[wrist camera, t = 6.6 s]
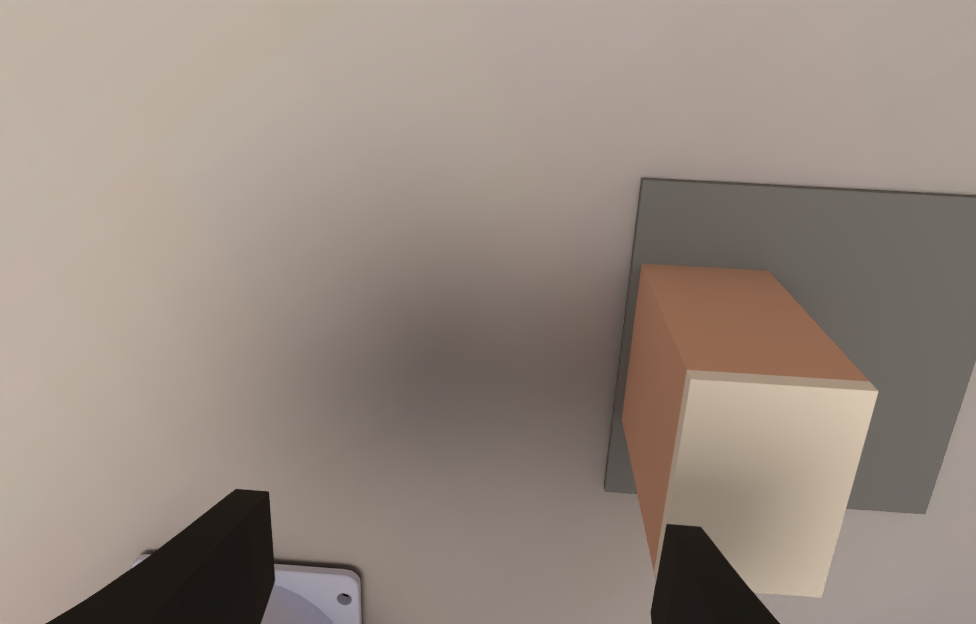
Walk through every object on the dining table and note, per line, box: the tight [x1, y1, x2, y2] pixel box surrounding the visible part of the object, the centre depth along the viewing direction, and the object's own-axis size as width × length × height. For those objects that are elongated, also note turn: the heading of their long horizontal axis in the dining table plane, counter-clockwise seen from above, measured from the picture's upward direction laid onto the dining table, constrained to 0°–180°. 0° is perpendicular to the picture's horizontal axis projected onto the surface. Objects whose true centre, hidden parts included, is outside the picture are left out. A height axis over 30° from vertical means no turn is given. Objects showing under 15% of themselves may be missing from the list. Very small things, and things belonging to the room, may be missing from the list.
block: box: [622, 263, 879, 598], centre depth 18 cm, size 5×4×7 cm
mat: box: [604, 178, 976, 514], centre depth 21 cm, size 10×10×1 cm
